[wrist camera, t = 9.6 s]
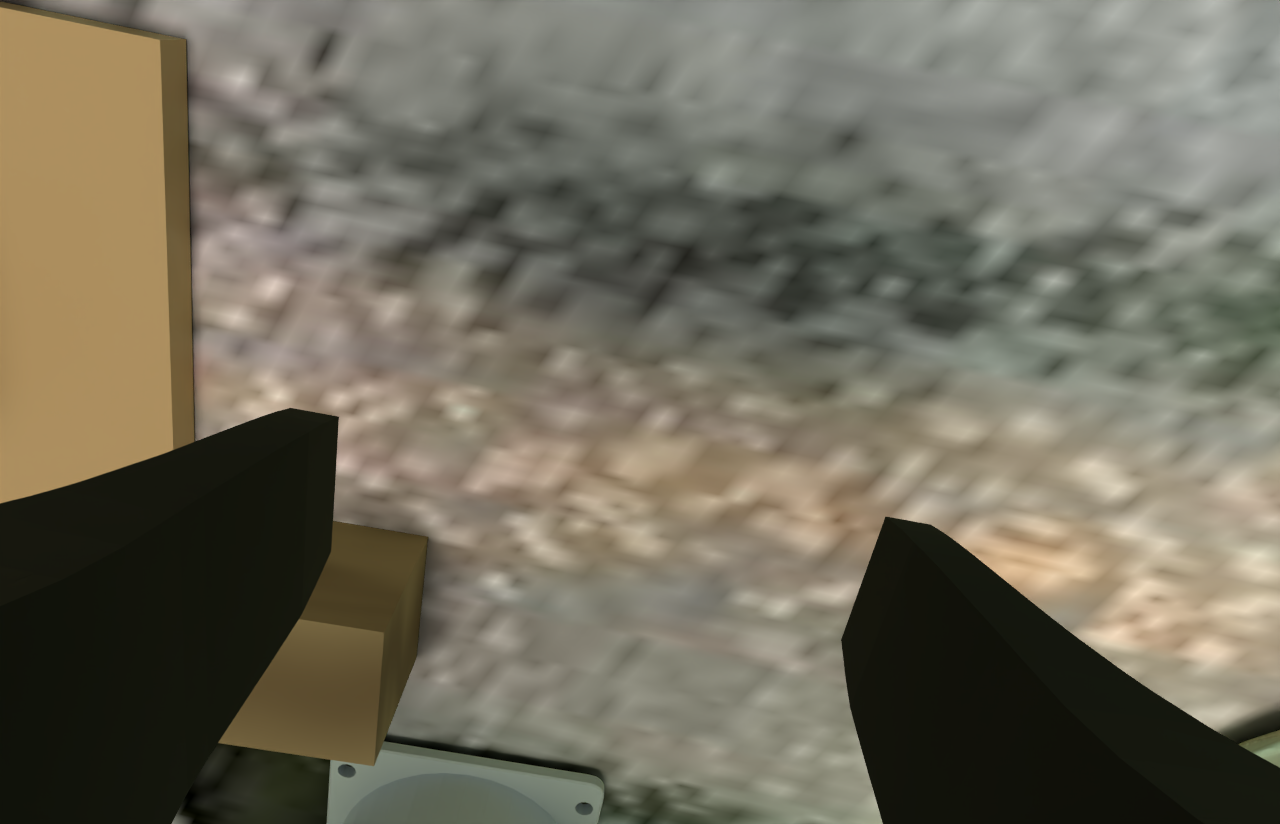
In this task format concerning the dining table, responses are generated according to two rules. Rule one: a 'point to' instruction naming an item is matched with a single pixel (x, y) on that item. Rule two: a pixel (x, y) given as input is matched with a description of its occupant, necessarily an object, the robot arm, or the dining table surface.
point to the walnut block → (343, 653)
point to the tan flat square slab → (91, 249)
